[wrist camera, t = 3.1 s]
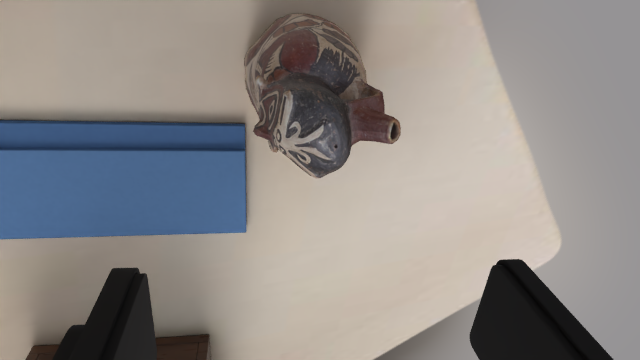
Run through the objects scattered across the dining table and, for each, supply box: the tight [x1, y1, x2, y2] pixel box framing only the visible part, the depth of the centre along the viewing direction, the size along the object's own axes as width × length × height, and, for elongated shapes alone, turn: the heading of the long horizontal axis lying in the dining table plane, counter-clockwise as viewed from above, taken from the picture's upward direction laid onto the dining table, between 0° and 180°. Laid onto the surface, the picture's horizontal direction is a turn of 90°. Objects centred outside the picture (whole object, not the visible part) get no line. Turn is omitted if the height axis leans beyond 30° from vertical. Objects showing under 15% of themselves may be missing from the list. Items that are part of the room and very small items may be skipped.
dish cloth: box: [0, 120, 246, 239], centre depth 27 cm, size 8×20×1 cm, turn 86°
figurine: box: [244, 14, 400, 178], centre depth 21 cm, size 7×7×12 cm
